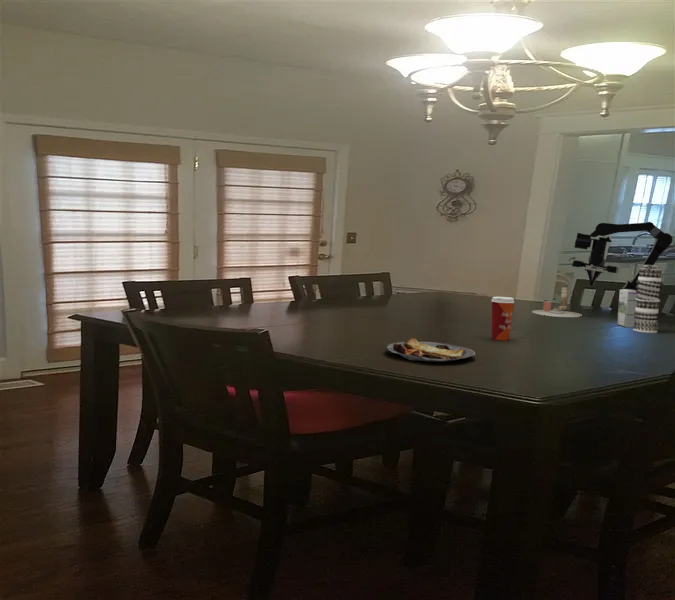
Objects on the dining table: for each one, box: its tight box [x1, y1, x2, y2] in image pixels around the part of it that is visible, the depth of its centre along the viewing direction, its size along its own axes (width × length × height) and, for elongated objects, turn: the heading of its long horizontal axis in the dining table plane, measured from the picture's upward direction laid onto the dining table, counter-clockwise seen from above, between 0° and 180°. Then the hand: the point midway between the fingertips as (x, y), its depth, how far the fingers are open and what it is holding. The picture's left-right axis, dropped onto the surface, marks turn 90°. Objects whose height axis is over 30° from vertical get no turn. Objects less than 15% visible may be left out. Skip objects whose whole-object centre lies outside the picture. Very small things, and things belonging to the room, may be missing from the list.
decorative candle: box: [632, 264, 664, 334], centre depth 248 cm, size 9×9×25 cm
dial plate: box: [531, 309, 583, 318], centre depth 290 cm, size 21×21×1 cm
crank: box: [552, 286, 569, 311], centre depth 294 cm, size 12×3×9 cm, turn 145°
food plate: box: [385, 337, 476, 363], centre depth 188 cm, size 25×23×4 cm
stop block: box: [542, 300, 552, 311], centre depth 296 cm, size 3×2×4 cm
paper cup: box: [490, 296, 515, 342], centre depth 219 cm, size 8×8×14 cm
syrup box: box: [616, 288, 638, 328], centre depth 259 cm, size 6×6×14 cm
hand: (591, 285), depth 293 cm, fingers closed
